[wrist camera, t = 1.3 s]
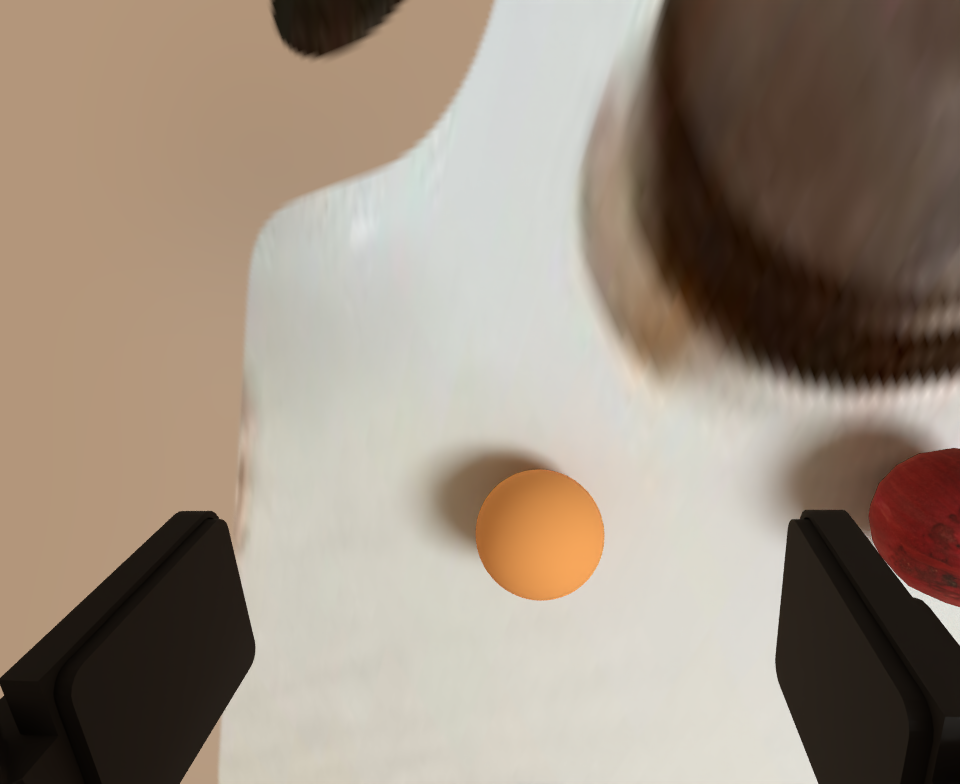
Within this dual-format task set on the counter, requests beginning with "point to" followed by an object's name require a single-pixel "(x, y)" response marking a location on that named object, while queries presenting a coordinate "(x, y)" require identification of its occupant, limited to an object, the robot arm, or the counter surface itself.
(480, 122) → the counter surface
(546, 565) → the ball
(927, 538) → the onion
